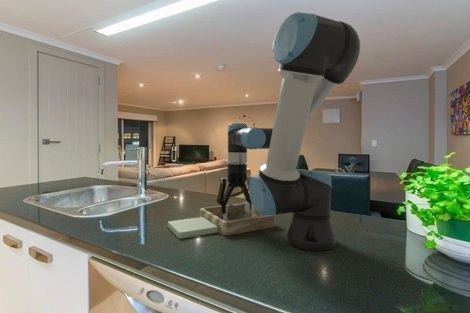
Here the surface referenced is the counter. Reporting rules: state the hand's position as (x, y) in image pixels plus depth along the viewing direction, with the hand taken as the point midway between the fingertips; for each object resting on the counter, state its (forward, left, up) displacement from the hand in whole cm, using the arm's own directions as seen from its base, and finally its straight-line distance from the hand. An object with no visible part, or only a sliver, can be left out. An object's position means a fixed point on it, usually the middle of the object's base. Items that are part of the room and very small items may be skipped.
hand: (236, 220), depth 108 cm
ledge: (0, +18, -1) cm, 19 cm away
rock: (-3, 0, -1) cm, 4 cm away
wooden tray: (0, 0, -1) cm, 1 cm away
